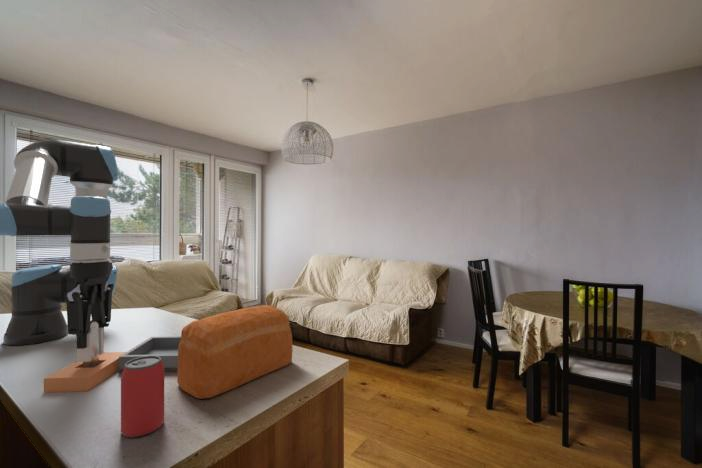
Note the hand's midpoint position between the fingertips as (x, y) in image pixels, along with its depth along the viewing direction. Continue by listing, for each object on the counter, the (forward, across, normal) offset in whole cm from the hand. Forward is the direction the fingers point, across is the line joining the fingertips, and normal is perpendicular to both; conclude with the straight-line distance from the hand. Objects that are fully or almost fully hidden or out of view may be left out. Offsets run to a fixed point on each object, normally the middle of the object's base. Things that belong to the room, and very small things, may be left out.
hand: (90, 357), depth 78 cm
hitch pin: (+5, 0, 0) cm, 5 cm away
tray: (+5, +9, -13) cm, 16 cm away
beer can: (+5, -22, -24) cm, 33 cm away
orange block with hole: (+5, 0, 0) cm, 5 cm away
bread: (+5, 0, -35) cm, 36 cm away
